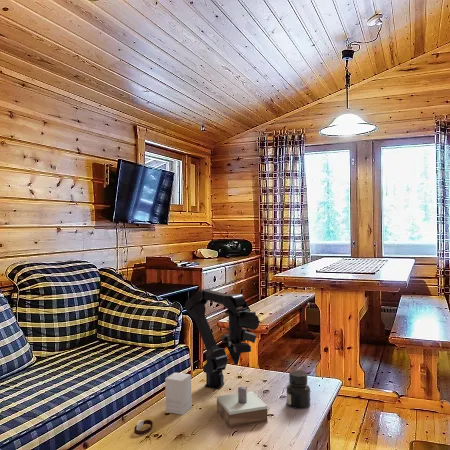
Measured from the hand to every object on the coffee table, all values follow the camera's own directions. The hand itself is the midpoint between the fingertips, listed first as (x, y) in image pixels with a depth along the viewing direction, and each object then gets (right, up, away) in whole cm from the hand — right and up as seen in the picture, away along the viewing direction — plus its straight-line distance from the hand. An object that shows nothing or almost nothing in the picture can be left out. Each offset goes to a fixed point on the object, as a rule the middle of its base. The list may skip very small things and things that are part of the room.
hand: (236, 364), depth 183 cm
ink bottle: (+23, -12, -11) cm, 29 cm away
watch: (-32, -13, -31) cm, 46 cm away
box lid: (+1, -8, -21) cm, 23 cm away
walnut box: (+1, -12, -21) cm, 24 cm away
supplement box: (-22, -13, -15) cm, 29 cm away
